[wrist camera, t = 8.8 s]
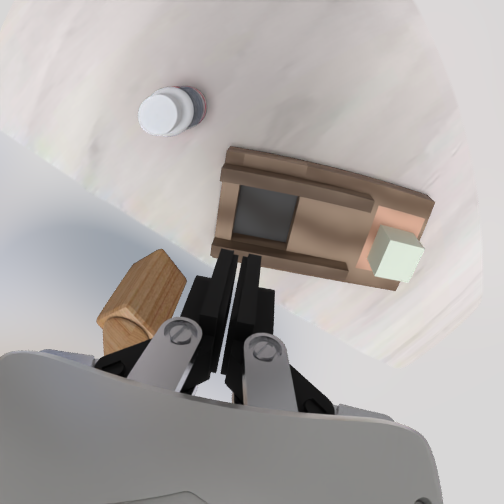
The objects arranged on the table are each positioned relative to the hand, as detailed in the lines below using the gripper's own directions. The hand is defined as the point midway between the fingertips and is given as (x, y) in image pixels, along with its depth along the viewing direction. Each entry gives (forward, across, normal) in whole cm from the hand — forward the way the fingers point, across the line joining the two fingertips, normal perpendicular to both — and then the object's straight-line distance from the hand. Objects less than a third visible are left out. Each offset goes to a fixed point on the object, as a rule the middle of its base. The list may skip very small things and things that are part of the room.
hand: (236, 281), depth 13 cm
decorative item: (+25, +12, +20) cm, 34 cm away
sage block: (+23, -18, +7) cm, 30 cm away
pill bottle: (+25, +10, -4) cm, 27 cm away
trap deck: (+25, -9, +7) cm, 28 cm away
